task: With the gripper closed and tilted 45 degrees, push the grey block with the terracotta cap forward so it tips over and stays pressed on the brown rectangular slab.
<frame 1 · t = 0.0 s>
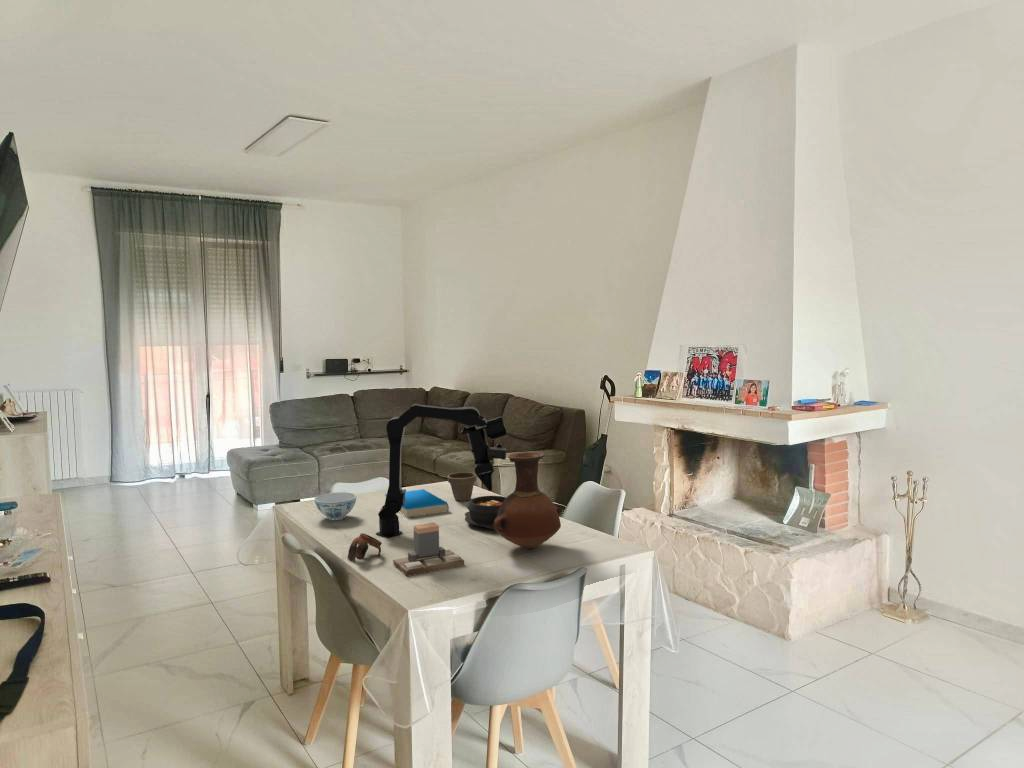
hand: (490, 487, 237), 15 cm above the table, tool pointing down, fingers open, 9 cm apart
brown rectangular slab: (426, 563, 208), on the table
vase: (528, 548, 221), on the table
brown curved piece: (363, 558, 214), on the table
chinaware: (336, 518, 258), on the table
grey block: (426, 541, 207), point 7 cm above the table, hinge at 0.0°
casserole: (491, 524, 249), on the table
book: (416, 508, 272), on the table
flower pot: (462, 499, 282), on the table
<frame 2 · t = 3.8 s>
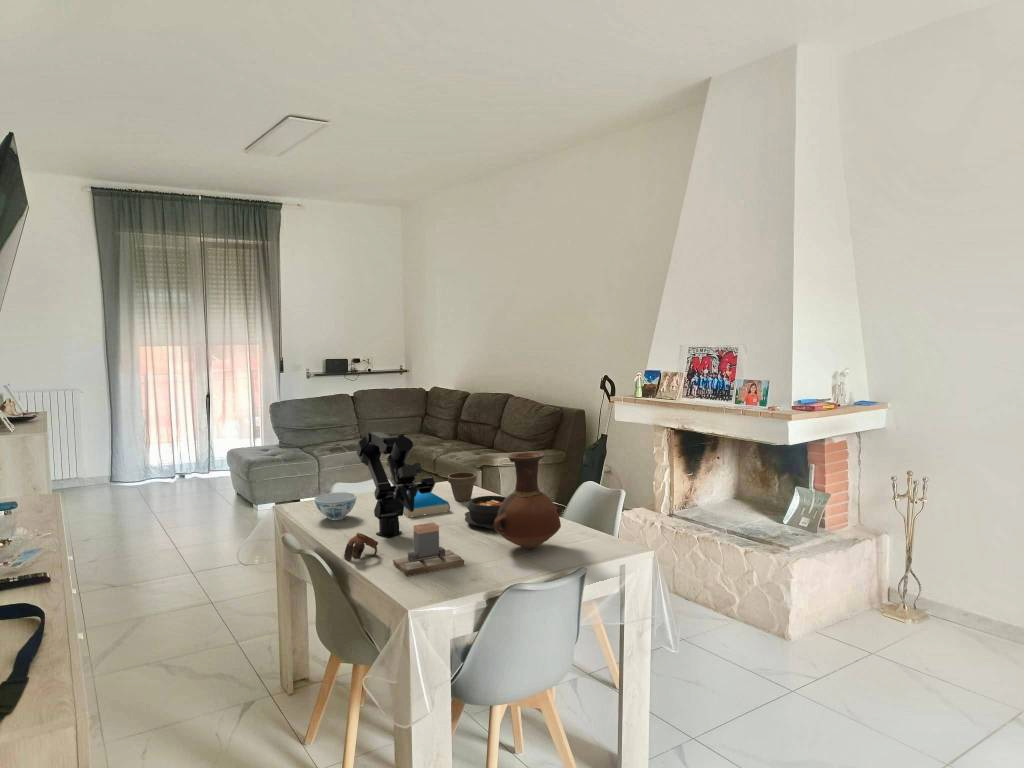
hand: (412, 511, 216), 13 cm above the table, tool tilted 45°, fingers closed
brown curved piece: (360, 558, 214), on the table
everything else where it was.
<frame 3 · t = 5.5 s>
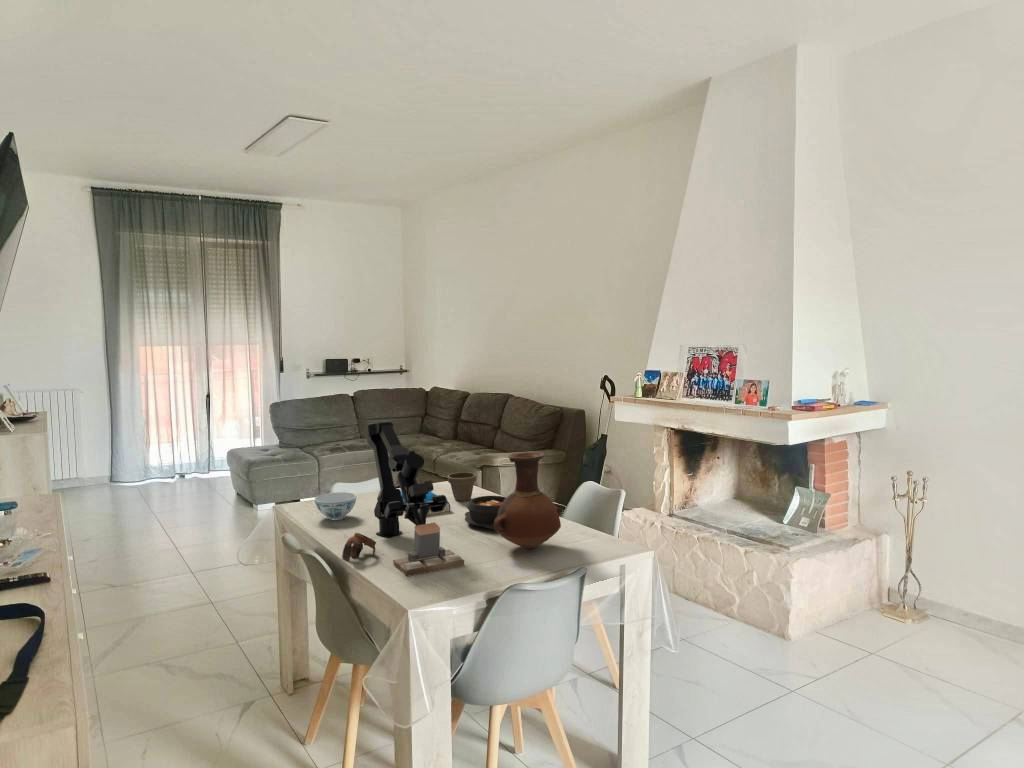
hand: (424, 530, 208), 10 cm above the table, tool tilted 45°, fingers closed, pressing on grey block
grey block: (427, 541, 207), point 7 cm above the table, hinge at 6.3°, touching gripper
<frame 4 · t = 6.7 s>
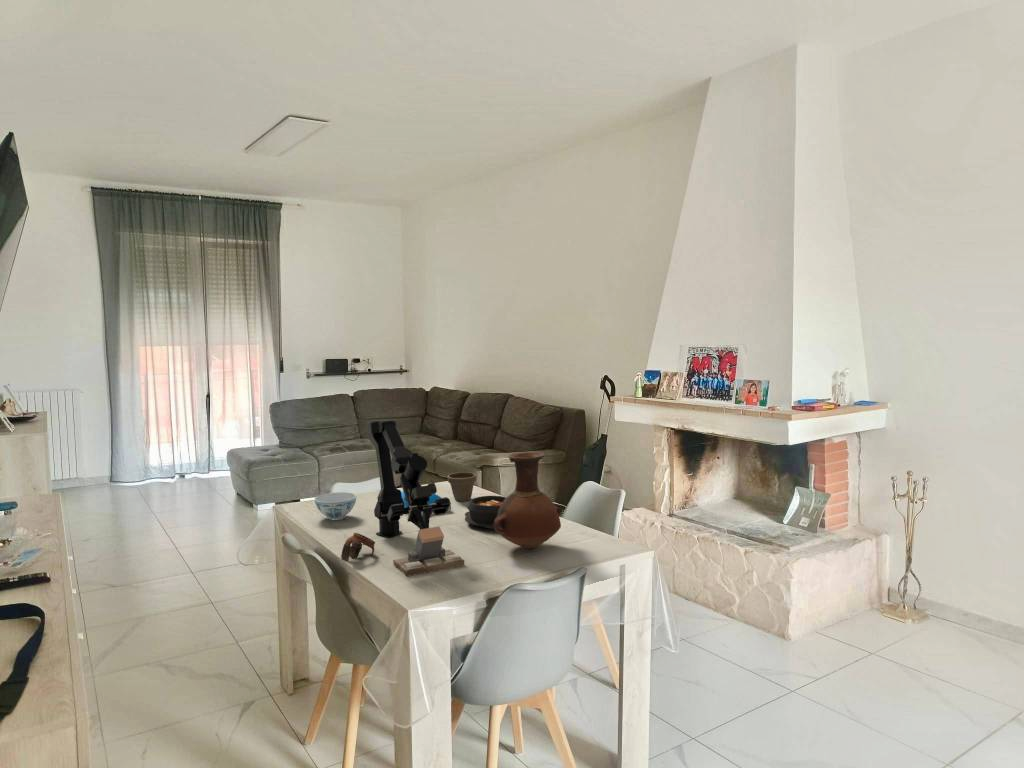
hand: (427, 533, 206), 9 cm above the table, tool tilted 45°, fingers closed
grey block: (428, 544, 206), point 6 cm above the table, hinge at 29.0°
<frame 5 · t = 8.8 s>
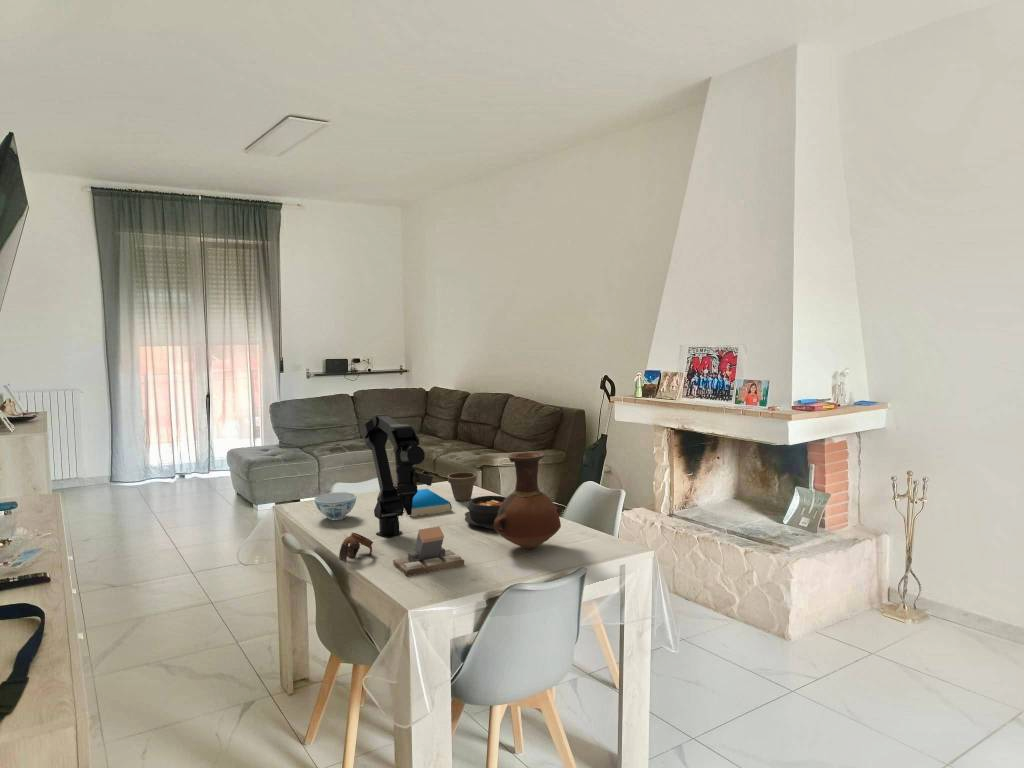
hand: (409, 514, 220), 11 cm above the table, tool pointing down, fingers closed
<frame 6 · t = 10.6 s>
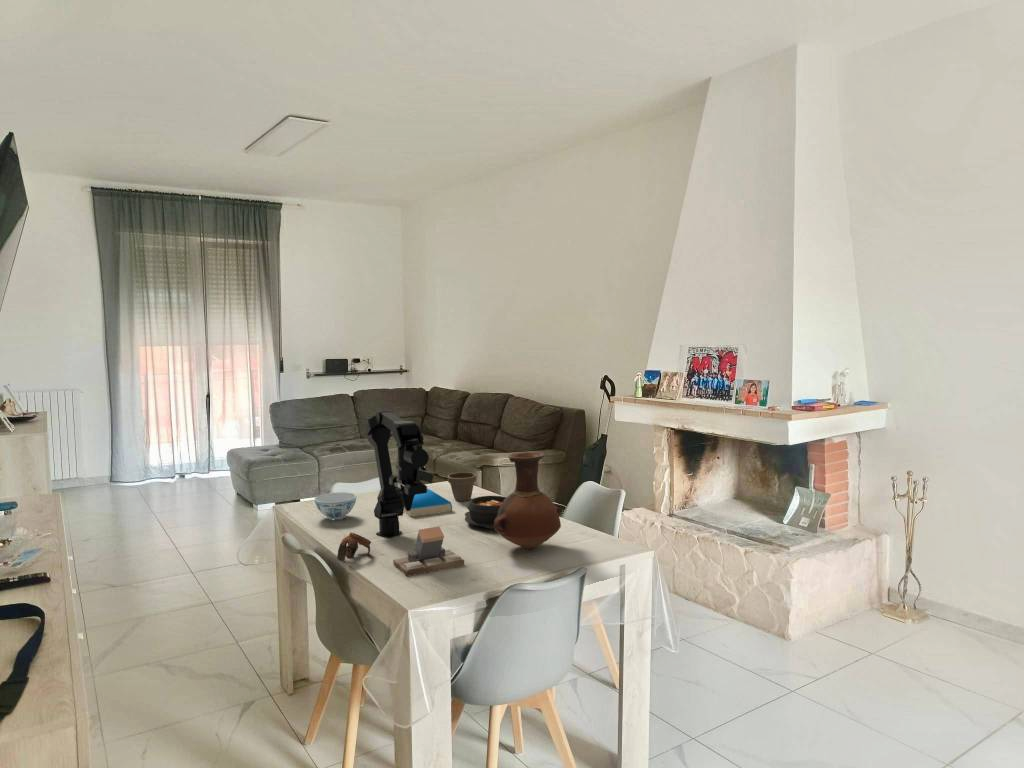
hand: (408, 510, 222), 12 cm above the table, tool pointing down, fingers closed
at the end: grey block at +29° (first picture: +0°); brown curved piece moved 3.6 cm from its start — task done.
